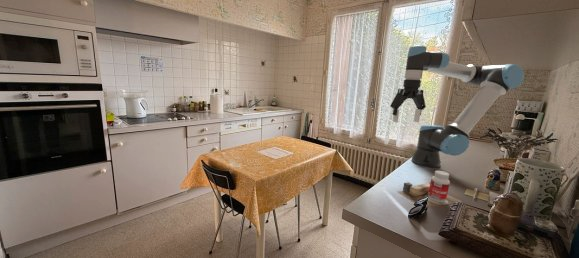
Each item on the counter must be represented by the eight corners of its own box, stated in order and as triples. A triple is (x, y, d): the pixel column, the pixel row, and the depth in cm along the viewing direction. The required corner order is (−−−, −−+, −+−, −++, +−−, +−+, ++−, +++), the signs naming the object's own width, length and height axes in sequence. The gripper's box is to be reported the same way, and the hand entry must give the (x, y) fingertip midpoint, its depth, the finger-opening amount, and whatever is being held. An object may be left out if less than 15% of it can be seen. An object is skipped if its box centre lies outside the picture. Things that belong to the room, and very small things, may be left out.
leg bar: (431, 188, 102) (432, 180, 101) (439, 191, 99) (441, 183, 98) (408, 192, 96) (409, 184, 95) (415, 196, 93) (417, 188, 92)
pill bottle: (428, 200, 91) (434, 173, 89) (426, 193, 97) (431, 168, 94) (447, 204, 89) (453, 177, 86) (444, 197, 94) (449, 171, 92)
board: (431, 189, 105) (433, 179, 104) (461, 205, 92) (464, 194, 91) (395, 194, 98) (396, 183, 97) (422, 211, 86) (424, 199, 85)
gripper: (425, 80, 122) (418, 120, 127) (386, 77, 114) (380, 120, 119) (438, 80, 115) (430, 123, 120) (397, 78, 107) (391, 123, 112)
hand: (405, 121), depth 119 cm, fingers open, 13 cm apart
